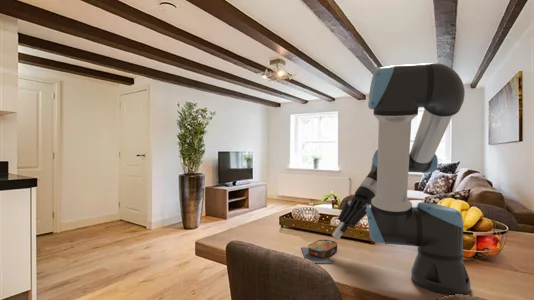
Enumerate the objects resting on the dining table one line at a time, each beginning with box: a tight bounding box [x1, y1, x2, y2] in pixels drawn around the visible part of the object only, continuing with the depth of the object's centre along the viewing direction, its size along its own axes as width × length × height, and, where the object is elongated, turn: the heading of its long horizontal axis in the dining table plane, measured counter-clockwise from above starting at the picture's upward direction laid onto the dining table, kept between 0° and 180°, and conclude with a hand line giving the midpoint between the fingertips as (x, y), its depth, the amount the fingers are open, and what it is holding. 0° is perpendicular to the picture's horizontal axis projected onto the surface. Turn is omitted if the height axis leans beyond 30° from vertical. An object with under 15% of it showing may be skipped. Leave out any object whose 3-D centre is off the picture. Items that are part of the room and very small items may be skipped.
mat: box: [300, 246, 333, 265], centre depth 107 cm, size 16×9×1 cm, turn 0°
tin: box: [307, 239, 338, 257], centre depth 110 cm, size 15×3×8 cm
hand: (334, 237), depth 108 cm, fingers closed
